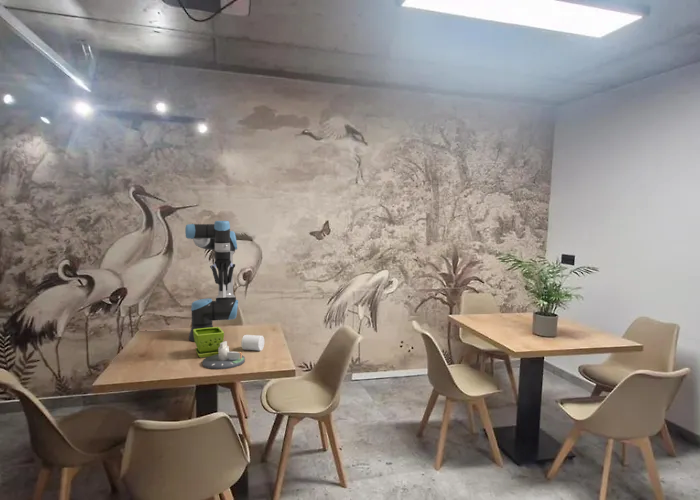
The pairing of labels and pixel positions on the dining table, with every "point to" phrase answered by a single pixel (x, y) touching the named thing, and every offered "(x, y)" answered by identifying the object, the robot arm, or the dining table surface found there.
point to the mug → (252, 342)
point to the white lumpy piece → (227, 352)
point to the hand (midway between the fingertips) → (223, 297)
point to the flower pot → (208, 341)
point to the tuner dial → (222, 362)
